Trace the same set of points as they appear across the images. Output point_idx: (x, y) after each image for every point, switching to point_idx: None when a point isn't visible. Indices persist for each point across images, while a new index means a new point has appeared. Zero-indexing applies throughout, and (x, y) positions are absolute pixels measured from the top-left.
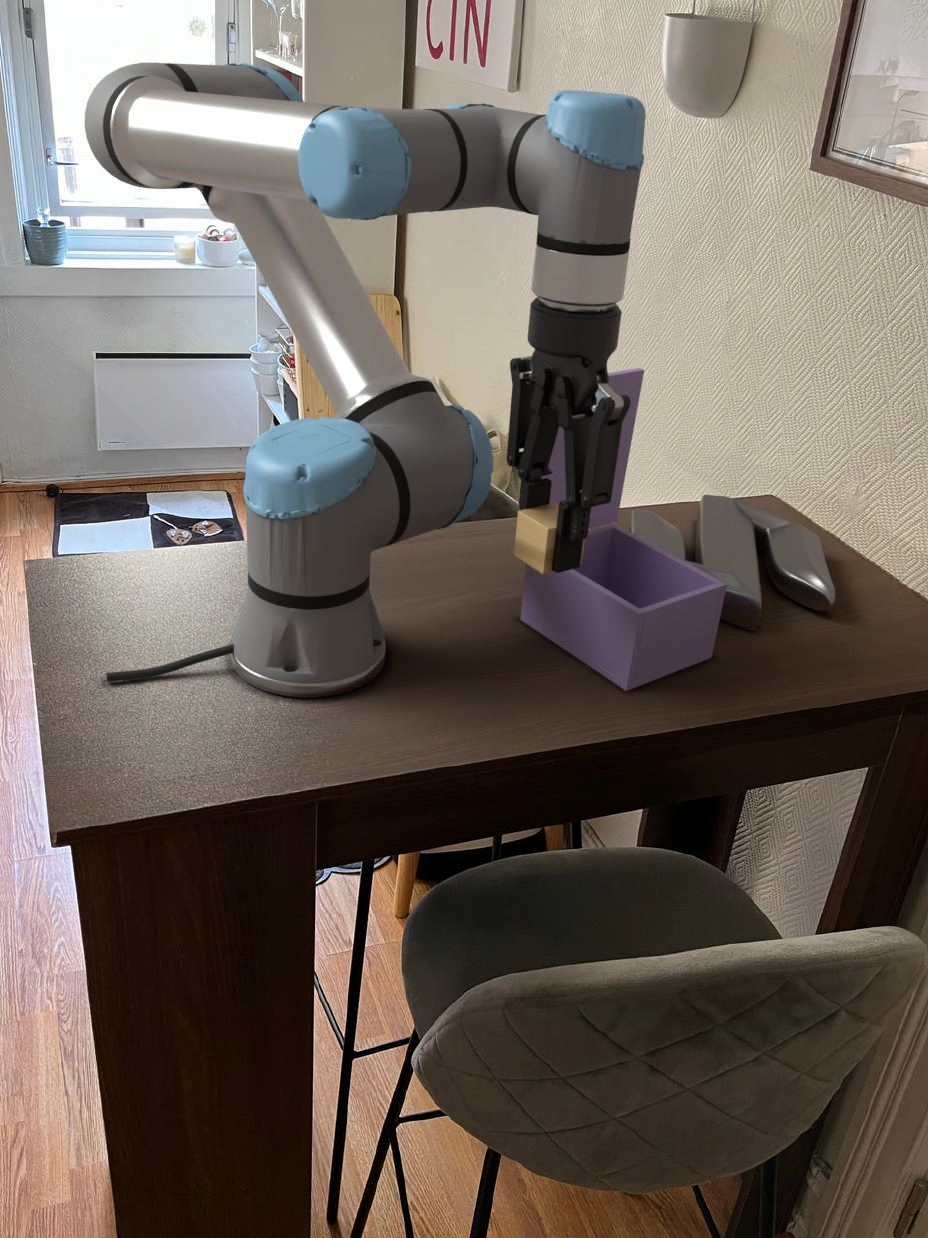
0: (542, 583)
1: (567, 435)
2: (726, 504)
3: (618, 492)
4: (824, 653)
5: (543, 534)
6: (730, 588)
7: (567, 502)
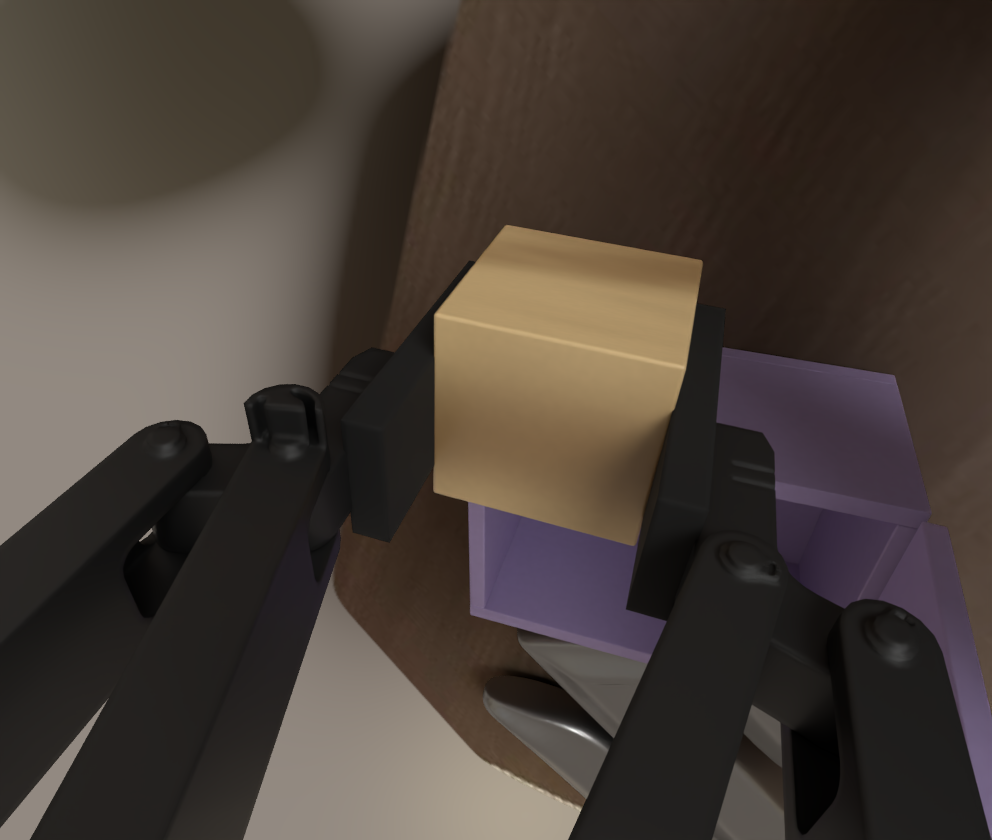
0: (834, 441)
1: (116, 832)
2: None
3: None
4: (438, 596)
5: (473, 299)
6: (571, 649)
7: (266, 413)
